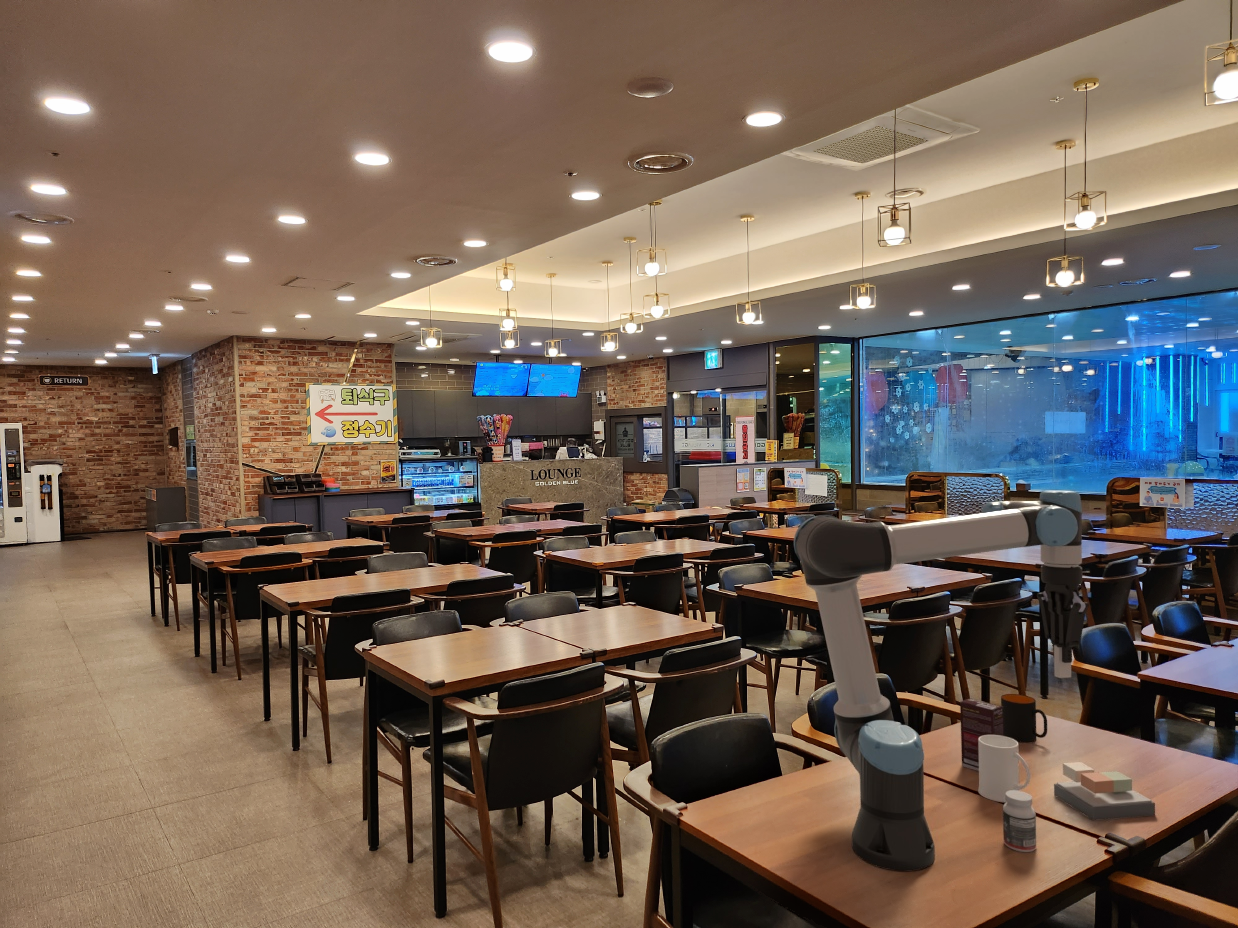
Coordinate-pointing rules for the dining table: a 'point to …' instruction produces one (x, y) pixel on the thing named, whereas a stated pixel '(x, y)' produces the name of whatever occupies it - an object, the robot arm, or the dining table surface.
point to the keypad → (1104, 802)
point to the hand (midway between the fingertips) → (1062, 676)
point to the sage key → (1119, 781)
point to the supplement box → (977, 728)
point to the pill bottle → (1019, 821)
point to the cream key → (1076, 770)
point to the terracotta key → (1097, 782)
